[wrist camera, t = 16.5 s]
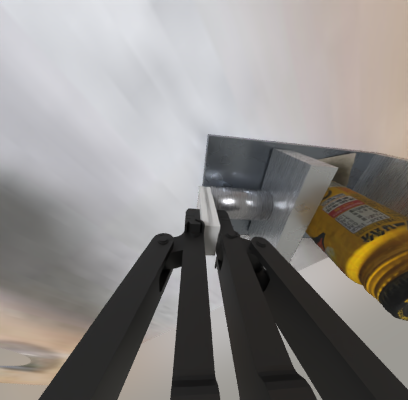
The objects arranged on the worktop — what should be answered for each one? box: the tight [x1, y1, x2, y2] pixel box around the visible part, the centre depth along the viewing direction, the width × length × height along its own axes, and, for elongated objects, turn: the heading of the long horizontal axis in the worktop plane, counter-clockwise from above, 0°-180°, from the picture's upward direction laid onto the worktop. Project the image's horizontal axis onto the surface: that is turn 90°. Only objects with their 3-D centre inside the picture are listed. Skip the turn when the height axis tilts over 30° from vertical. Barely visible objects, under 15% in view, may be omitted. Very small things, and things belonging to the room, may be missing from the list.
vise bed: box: [202, 134, 408, 238], centre depth 17 cm, size 20×12×7 cm, turn 84°
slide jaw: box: [210, 148, 338, 270], centre depth 16 cm, size 8×11×6 cm
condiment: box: [305, 153, 408, 321], centre depth 14 cm, size 7×8×12 cm
